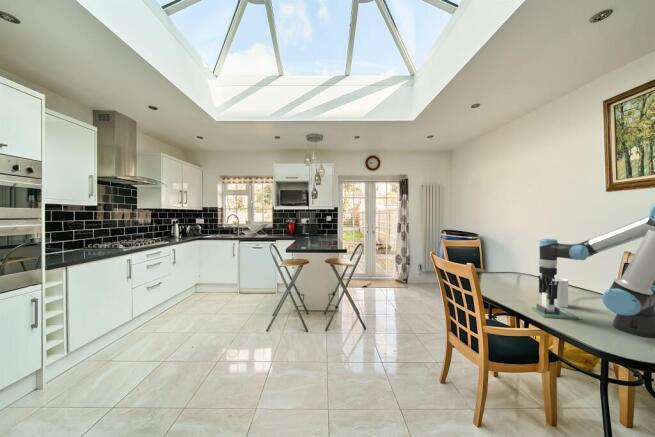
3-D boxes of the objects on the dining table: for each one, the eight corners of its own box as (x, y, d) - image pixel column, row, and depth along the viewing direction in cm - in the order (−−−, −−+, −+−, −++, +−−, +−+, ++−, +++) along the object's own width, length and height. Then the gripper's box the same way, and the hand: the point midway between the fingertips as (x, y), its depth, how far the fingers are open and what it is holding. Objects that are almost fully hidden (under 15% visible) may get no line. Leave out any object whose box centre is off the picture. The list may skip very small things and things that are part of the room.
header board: (578, 319, 137) (579, 311, 137) (544, 317, 140) (544, 309, 140) (562, 310, 148) (562, 303, 148) (531, 309, 151) (531, 302, 151)
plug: (546, 312, 143) (546, 290, 143) (541, 309, 147) (541, 288, 147) (554, 313, 142) (554, 291, 142) (549, 310, 146) (549, 289, 146)
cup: (560, 303, 161) (561, 277, 161) (571, 307, 153) (572, 280, 153) (546, 302, 162) (546, 277, 162) (556, 307, 154) (557, 280, 154)
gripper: (566, 270, 135) (566, 315, 136) (545, 263, 152) (545, 303, 152) (550, 270, 136) (550, 314, 137) (531, 263, 153) (531, 302, 154)
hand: (547, 308), depth 145 cm, fingers closed on plug, 4 cm apart
